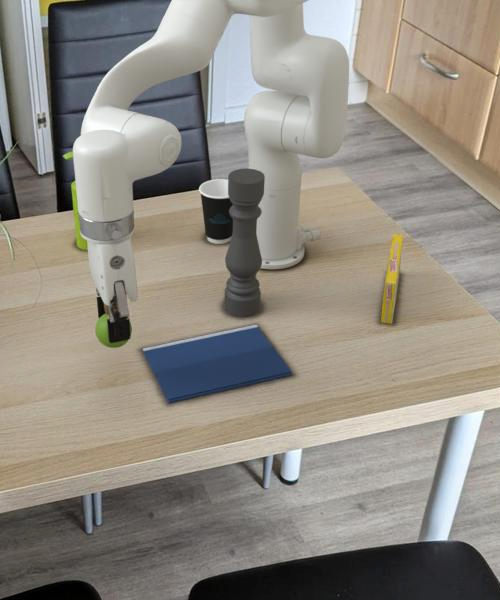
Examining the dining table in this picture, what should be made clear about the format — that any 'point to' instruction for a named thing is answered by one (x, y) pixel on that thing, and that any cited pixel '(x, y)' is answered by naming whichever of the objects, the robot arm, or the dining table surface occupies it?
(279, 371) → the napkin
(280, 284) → the dining table surface
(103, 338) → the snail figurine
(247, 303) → the candle holder
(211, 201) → the dixie cup
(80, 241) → the soap dispenser
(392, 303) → the candy box
